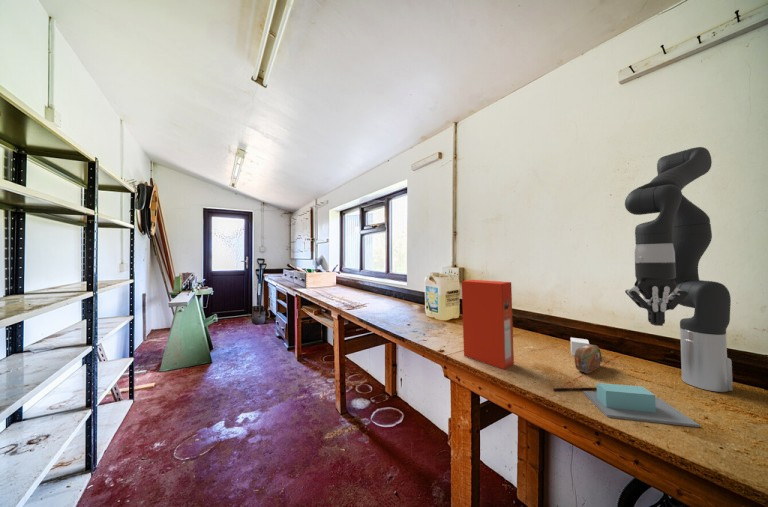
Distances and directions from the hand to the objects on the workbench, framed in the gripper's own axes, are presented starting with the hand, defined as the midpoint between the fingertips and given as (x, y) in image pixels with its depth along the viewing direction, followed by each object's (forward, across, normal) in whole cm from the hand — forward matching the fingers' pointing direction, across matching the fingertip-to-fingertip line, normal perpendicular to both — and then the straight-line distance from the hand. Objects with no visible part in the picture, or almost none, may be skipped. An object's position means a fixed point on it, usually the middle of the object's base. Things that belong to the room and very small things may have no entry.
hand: (656, 324), depth 69 cm
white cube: (+23, +1, -40) cm, 46 cm away
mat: (+23, +6, 0) cm, 24 cm away
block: (+20, +2, 0) cm, 20 cm away
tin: (+23, +5, -25) cm, 35 cm away
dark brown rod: (+24, +16, -7) cm, 29 cm away
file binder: (+23, +40, -27) cm, 53 cm away
